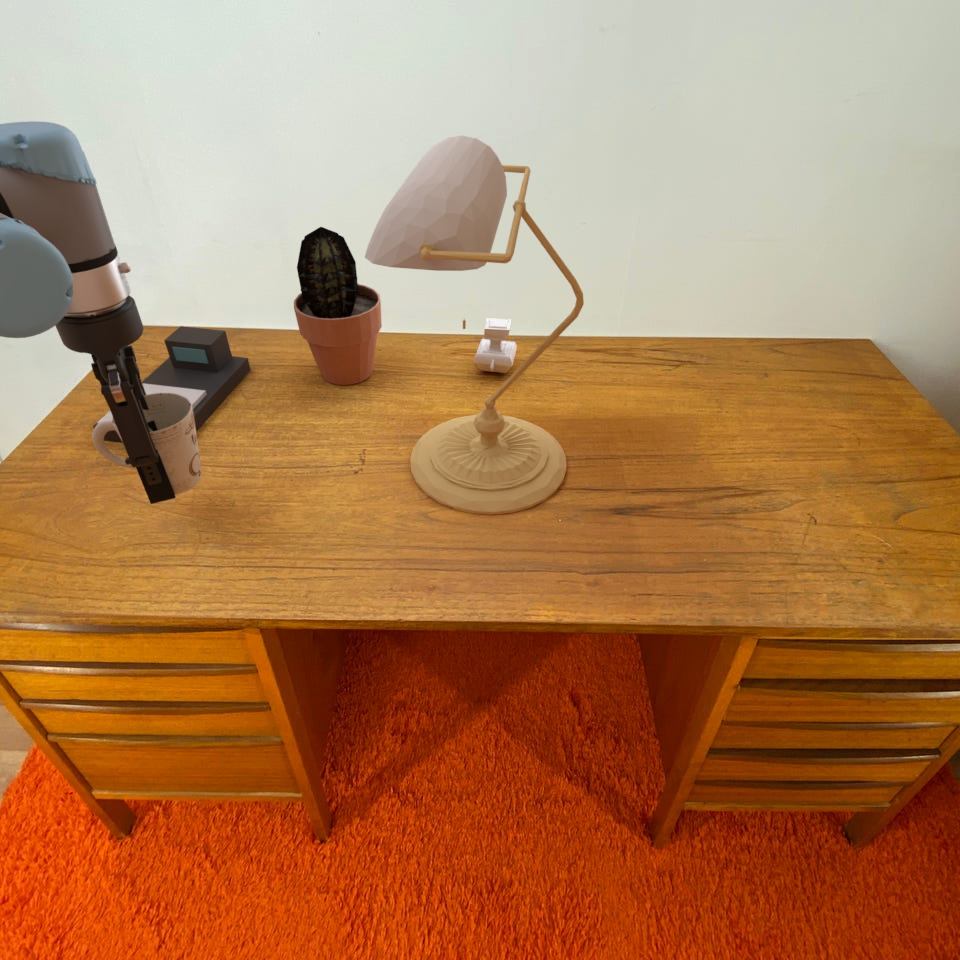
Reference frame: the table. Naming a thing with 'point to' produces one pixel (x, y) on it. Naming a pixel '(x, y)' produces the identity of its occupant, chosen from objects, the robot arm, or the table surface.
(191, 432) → the mug
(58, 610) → the table surface
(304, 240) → the potted plant
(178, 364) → the scale
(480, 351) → the stamp
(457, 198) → the desk lamp
